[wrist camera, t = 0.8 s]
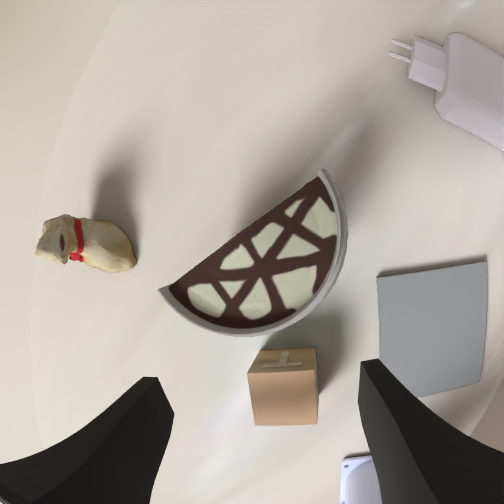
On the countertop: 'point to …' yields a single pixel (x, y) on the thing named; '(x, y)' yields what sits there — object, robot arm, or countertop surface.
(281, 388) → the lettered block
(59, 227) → the chocolate bunny
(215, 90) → the countertop surface
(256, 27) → the countertop surface
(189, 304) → the food container
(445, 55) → the charger
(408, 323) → the slate board
